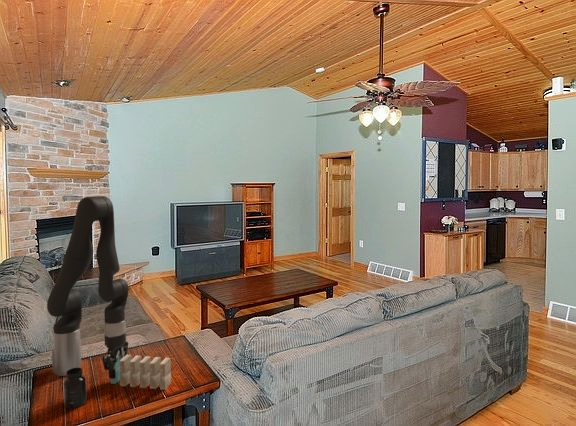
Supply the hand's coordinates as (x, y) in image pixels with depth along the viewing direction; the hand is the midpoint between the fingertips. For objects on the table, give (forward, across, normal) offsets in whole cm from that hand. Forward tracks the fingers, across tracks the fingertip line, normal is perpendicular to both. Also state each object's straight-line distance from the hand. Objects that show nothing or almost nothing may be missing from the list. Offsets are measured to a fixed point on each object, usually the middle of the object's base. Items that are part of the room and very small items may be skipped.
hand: (116, 374), depth 145 cm
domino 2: (+3, 0, +4) cm, 5 cm away
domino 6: (+3, 0, +20) cm, 20 cm away
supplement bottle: (+3, +15, -6) cm, 17 cm away
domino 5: (+3, 0, +16) cm, 16 cm away
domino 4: (+3, 0, +12) cm, 12 cm away
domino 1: (+2, 0, 0) cm, 2 cm away
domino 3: (+3, 0, +8) cm, 9 cm away
